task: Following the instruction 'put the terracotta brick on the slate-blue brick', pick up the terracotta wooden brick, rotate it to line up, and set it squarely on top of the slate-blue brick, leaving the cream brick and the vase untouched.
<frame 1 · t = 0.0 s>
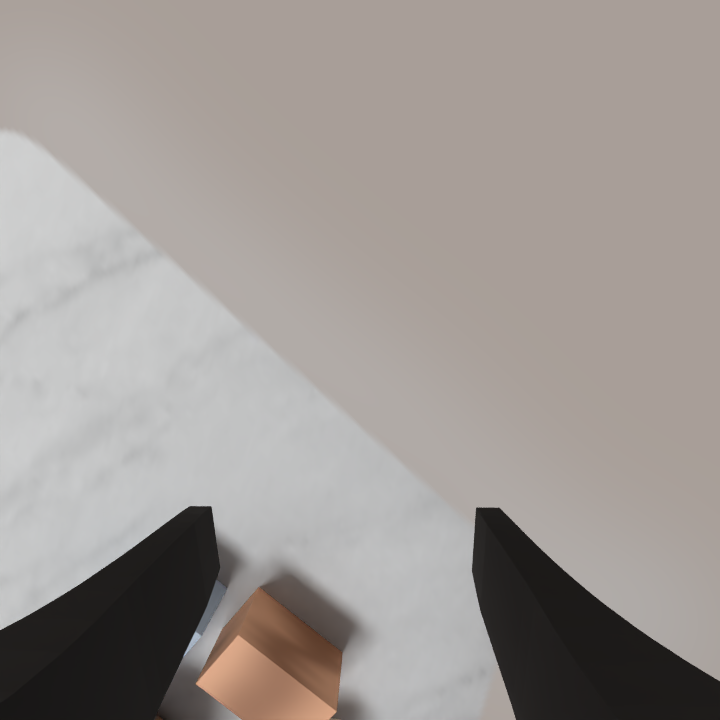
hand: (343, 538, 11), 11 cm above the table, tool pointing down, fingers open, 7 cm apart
terracotta brick: (282, 639, 23), on the table
slate brick: (172, 605, 23), on the table
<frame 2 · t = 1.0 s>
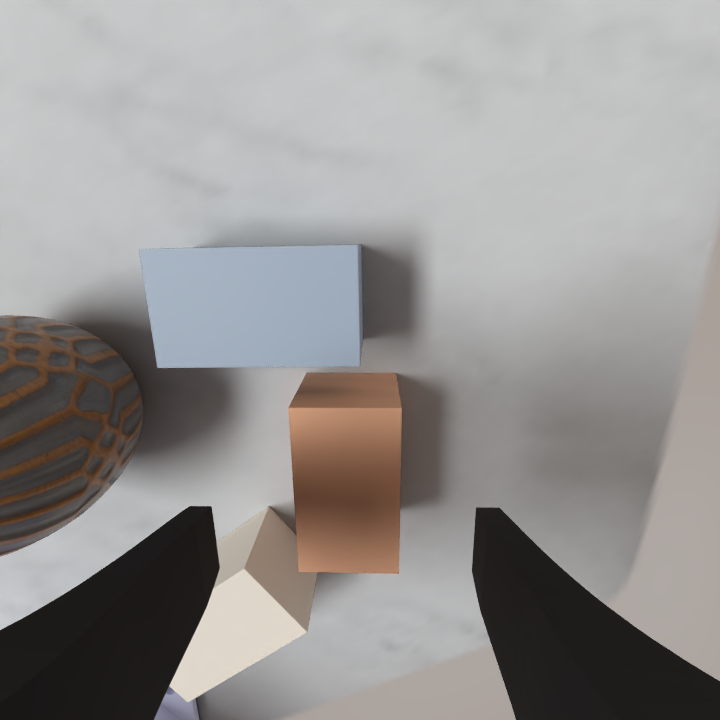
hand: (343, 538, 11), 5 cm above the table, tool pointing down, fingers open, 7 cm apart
terracotta brick: (352, 443, 17), on the table
cream brick: (244, 565, 19), on the table
vase: (88, 387, 16), on the table
slate brick: (280, 294, 15), on the table
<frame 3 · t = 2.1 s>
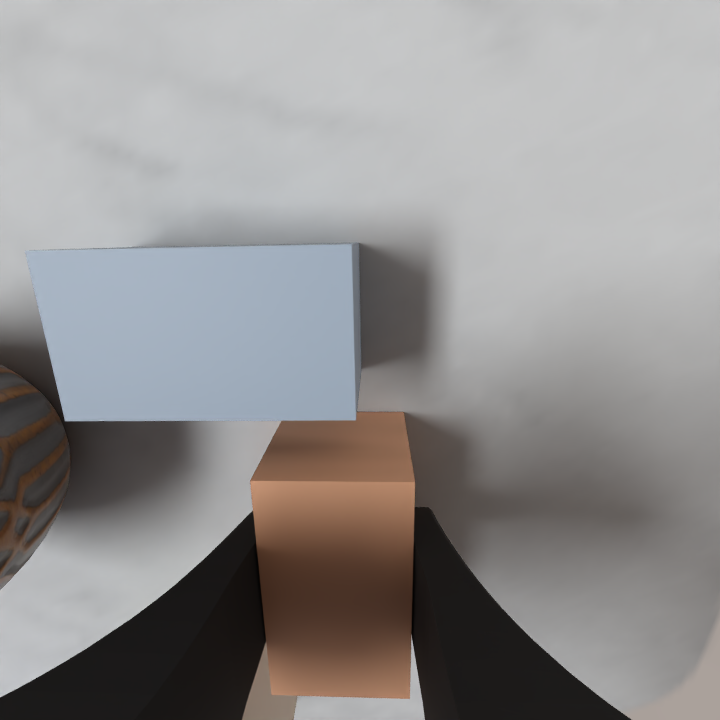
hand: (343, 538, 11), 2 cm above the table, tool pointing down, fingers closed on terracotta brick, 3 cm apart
terracotta brick: (347, 502, 13), on the table, touching gripper
cream brick: (212, 644, 15), on the table
vase: (6, 428, 13), on the table
slate brick: (251, 309, 11), on the table
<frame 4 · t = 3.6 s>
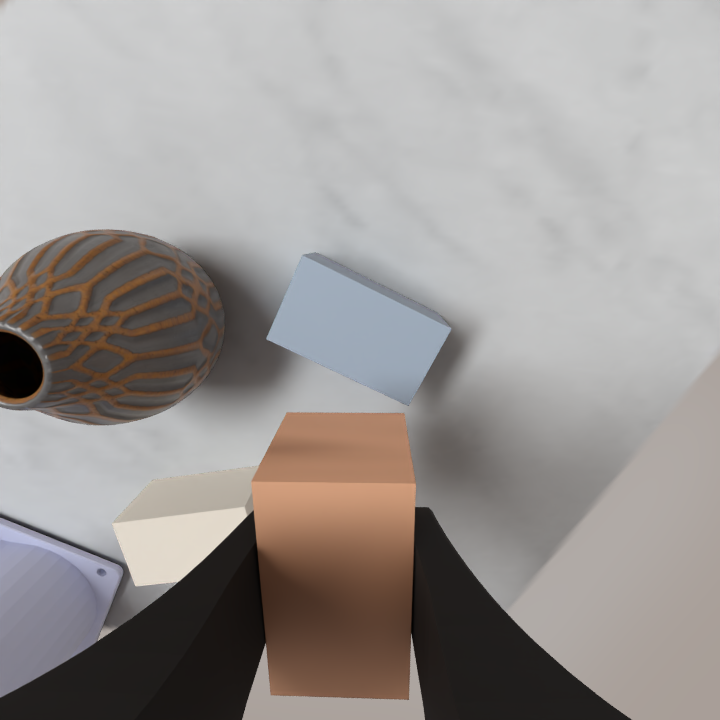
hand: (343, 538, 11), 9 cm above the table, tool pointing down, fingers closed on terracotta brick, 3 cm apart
terracotta brick: (347, 502, 13), point 7 cm above the table, touching gripper
cream brick: (217, 499, 22), on the table
vase: (170, 310, 19), on the table
slate brick: (360, 316, 19), on the table
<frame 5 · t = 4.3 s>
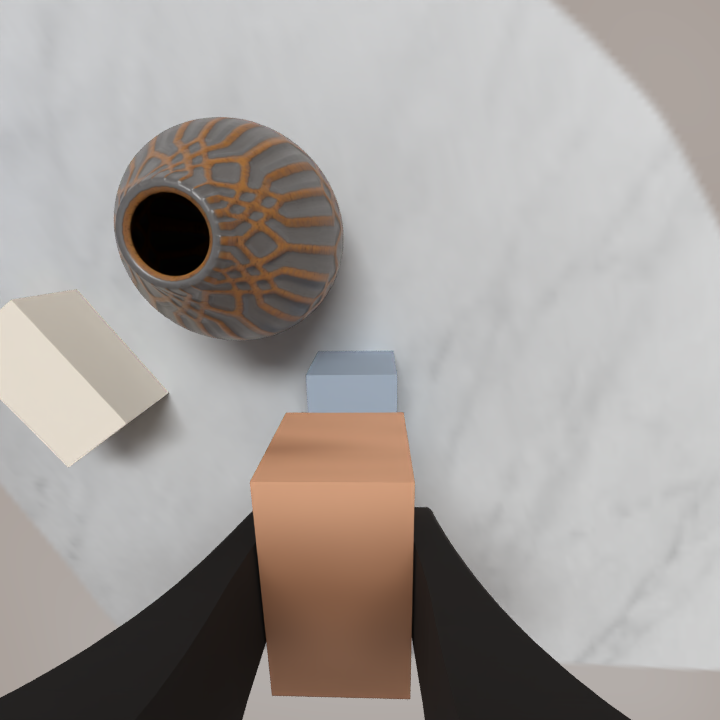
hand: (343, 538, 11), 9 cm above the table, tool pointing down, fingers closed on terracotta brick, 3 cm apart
terracotta brick: (347, 502, 13), point 7 cm above the table, touching gripper
cream brick: (100, 362, 19), on the table
vase: (269, 237, 18), on the table
slate brick: (356, 411, 20), on the table
when the fingers open (6 cm above the table, at t = 5.1 s): terracotta brick drops 1 cm, point 3 cm above the table.
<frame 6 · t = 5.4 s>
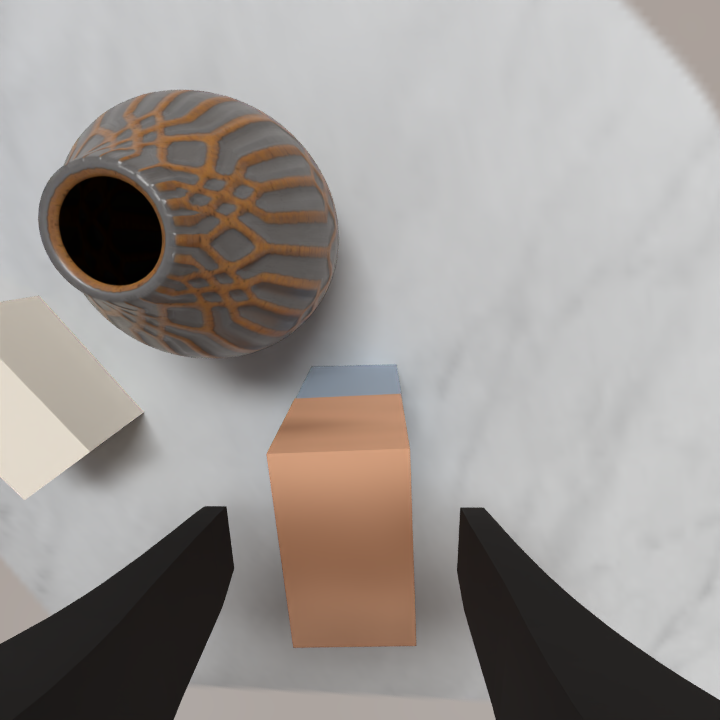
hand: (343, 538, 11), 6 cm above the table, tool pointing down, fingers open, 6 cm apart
terracotta brick: (353, 478, 14), point 3 cm above the table
cream brick: (67, 377, 17), on the table
vase: (255, 237, 16), on the table
slate brick: (356, 432, 18), on the table
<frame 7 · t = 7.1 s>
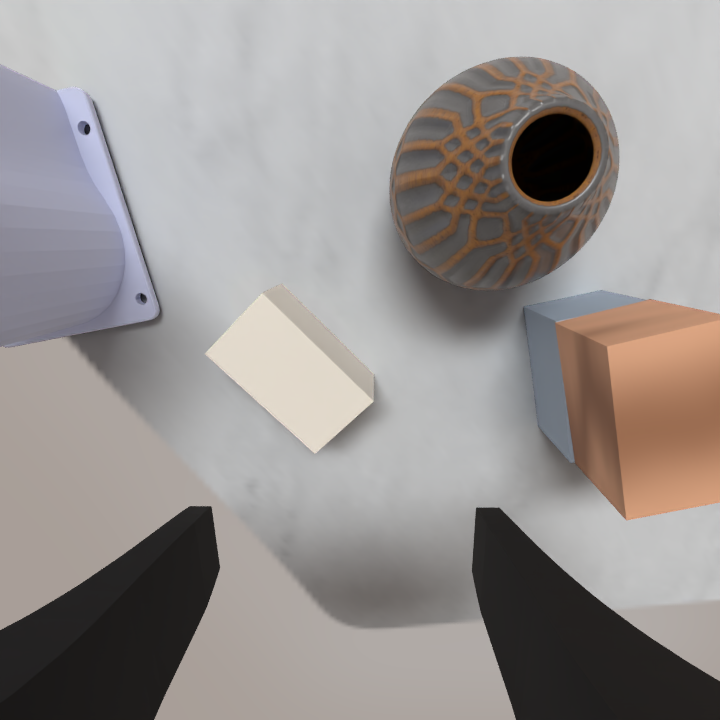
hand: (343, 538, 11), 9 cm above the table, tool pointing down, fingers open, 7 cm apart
terracotta brick: (610, 386, 16), point 3 cm above the table, touching slate brick
cream brick: (304, 353, 20), on the table
vase: (467, 197, 18), on the table
slate brick: (567, 360, 19), on the table, touching terracotta brick
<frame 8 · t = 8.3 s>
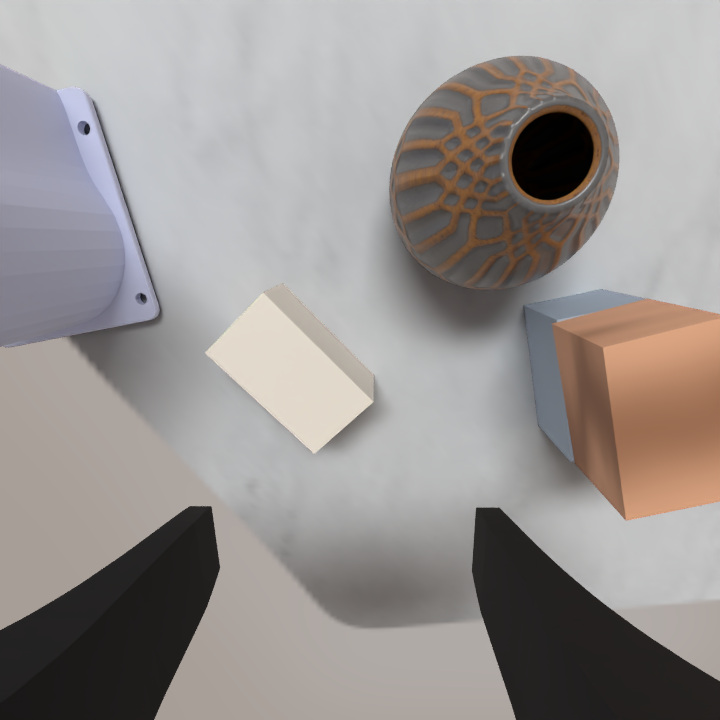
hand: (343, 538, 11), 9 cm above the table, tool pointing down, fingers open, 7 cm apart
terracotta brick: (608, 385, 16), point 3 cm above the table, touching slate brick
cream brick: (304, 353, 20), on the table
vase: (467, 197, 18), on the table
slate brick: (567, 360, 19), on the table, touching terracotta brick
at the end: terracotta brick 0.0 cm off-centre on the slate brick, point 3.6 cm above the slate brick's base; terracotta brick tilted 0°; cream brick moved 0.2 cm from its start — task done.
